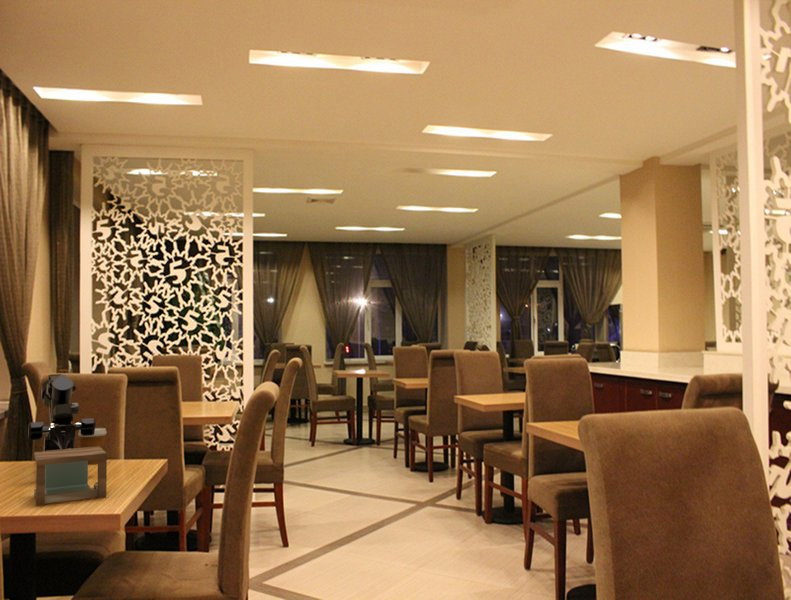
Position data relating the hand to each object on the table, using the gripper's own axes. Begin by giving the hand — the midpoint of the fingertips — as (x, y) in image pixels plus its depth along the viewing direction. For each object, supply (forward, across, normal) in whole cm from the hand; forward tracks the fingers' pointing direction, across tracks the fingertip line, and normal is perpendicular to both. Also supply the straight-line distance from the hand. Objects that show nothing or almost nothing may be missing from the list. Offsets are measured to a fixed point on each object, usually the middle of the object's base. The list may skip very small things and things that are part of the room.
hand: (63, 450), depth 204 cm
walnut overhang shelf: (+22, 0, -8) cm, 24 cm away
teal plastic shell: (+20, 0, -6) cm, 21 cm away
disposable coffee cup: (-16, +12, +31) cm, 37 cm away
